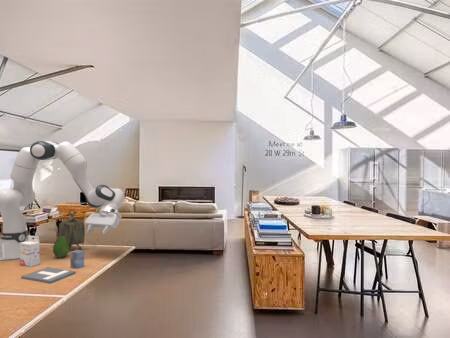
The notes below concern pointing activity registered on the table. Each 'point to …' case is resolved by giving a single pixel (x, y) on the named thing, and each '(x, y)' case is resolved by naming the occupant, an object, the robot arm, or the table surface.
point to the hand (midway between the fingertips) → (95, 232)
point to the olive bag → (72, 230)
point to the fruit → (60, 247)
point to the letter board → (48, 275)
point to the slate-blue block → (77, 259)
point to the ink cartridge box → (30, 251)
